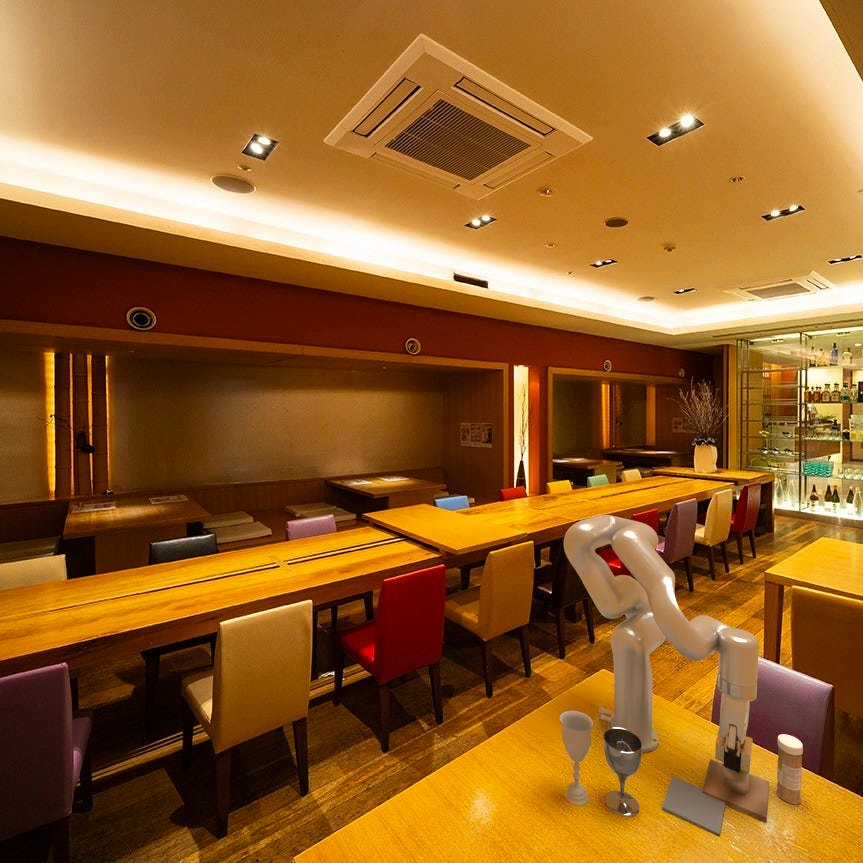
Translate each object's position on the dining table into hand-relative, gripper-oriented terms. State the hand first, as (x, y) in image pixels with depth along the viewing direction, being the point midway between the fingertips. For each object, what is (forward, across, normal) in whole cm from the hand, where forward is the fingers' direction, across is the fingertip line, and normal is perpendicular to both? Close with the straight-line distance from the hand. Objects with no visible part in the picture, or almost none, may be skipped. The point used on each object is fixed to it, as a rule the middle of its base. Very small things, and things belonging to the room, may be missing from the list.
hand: (733, 758), depth 109 cm
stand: (+7, 0, +1) cm, 8 cm away
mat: (+8, +10, -6) cm, 14 cm away
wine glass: (+8, +19, -19) cm, 28 cm away
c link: (0, 0, 0) cm, 0 cm away
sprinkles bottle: (+7, -5, +10) cm, 14 cm away
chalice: (+8, +23, -28) cm, 37 cm away
